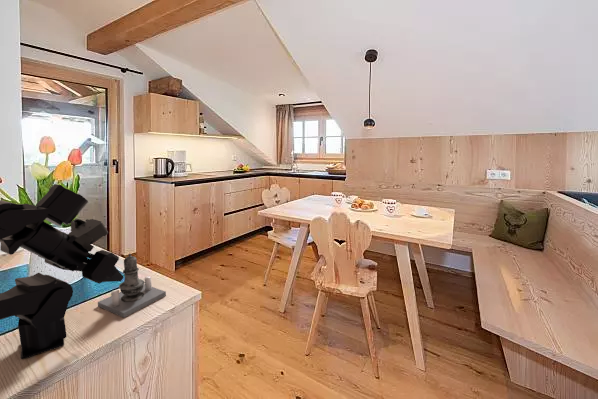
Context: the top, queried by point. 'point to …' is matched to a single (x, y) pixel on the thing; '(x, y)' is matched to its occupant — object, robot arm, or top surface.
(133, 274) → the grey tall turned piece
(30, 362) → the top surface
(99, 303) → the pin tray
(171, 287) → the top surface
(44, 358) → the top surface
